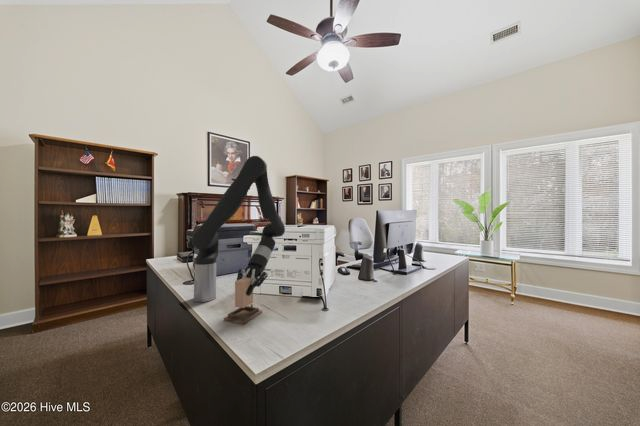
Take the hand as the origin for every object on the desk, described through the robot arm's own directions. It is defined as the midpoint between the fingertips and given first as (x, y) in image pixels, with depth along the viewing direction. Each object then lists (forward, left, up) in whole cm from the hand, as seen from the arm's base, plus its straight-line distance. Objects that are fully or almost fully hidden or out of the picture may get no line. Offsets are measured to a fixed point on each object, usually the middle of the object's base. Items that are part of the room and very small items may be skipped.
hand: (242, 293), depth 95 cm
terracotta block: (+1, +1, -5) cm, 5 cm away
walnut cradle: (0, +1, -9) cm, 9 cm away
